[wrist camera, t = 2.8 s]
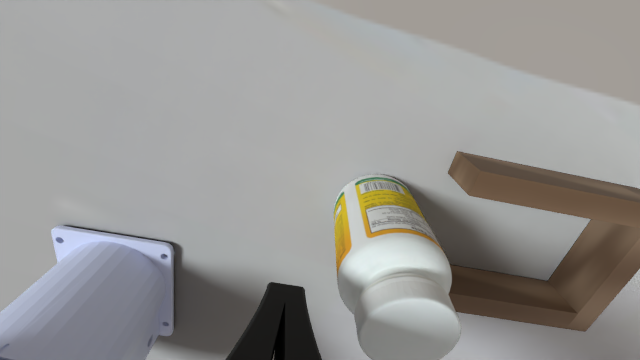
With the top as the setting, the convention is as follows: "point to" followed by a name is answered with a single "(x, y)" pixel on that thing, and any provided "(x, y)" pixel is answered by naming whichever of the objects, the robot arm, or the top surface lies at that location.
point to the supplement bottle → (393, 272)
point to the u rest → (577, 266)
